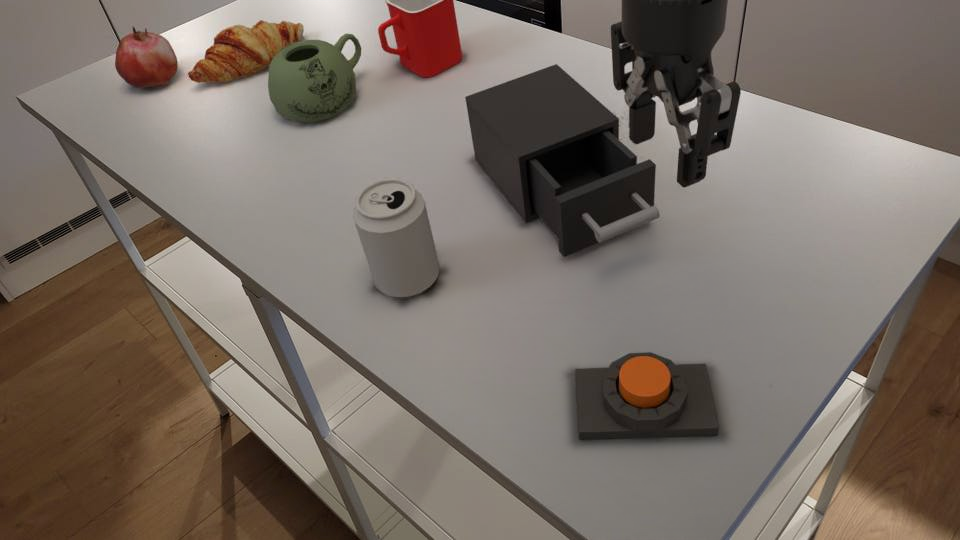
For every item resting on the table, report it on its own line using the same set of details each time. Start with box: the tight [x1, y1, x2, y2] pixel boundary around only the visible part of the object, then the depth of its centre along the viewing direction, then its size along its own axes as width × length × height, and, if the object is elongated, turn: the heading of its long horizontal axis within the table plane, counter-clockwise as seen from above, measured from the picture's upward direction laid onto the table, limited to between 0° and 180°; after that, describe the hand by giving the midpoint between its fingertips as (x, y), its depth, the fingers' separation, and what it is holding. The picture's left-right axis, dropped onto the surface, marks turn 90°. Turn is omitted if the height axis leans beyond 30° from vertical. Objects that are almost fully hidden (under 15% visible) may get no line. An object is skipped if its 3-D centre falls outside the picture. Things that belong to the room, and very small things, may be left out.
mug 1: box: [267, 33, 362, 123], centre depth 111 cm, size 16×13×9 cm
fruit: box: [114, 26, 179, 89], centre depth 121 cm, size 9×10×10 cm
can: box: [352, 177, 440, 298], centre depth 80 cm, size 8×8×12 cm
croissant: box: [187, 19, 305, 84], centre depth 123 cm, size 21×10×8 cm, turn 134°
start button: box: [619, 356, 671, 408], centre depth 67 cm, size 4×4×2 cm
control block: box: [574, 351, 720, 440], centre depth 68 cm, size 12×7×3 cm, turn 87°
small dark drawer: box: [525, 129, 661, 258], centre depth 84 cm, size 18×11×8 cm, turn 24°
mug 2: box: [377, 0, 463, 78], centre depth 114 cm, size 12×8×11 cm
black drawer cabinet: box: [464, 63, 620, 224], centre depth 91 cm, size 15×13×10 cm
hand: (665, 159), depth 65 cm, fingers open, 6 cm apart
